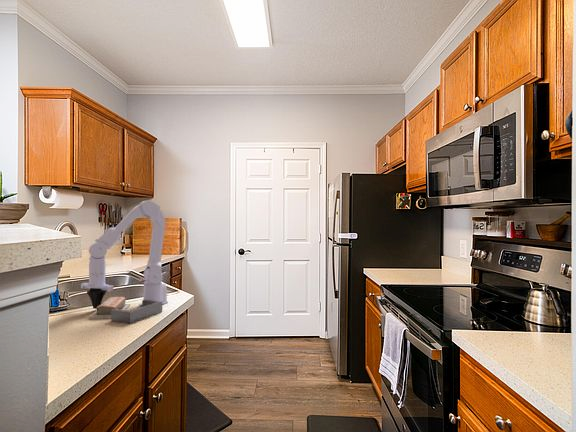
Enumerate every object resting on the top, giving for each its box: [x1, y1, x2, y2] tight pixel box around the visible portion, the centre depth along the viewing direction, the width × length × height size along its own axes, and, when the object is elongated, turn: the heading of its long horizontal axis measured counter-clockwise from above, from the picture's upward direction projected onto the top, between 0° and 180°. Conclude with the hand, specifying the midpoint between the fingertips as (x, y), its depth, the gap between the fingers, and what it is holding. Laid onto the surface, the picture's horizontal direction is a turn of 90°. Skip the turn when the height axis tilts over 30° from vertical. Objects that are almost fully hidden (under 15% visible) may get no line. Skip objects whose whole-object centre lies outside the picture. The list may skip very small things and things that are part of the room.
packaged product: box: [88, 296, 131, 320], centre depth 139 cm, size 18×5×10 cm
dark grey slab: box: [110, 299, 163, 325], centre depth 134 cm, size 17×8×4 cm, turn 161°
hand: (96, 307), depth 141 cm, fingers closed
